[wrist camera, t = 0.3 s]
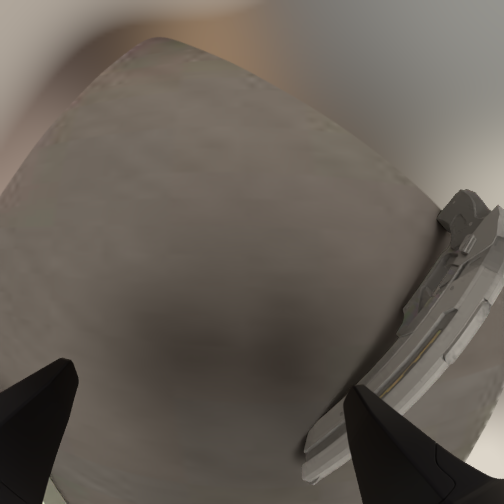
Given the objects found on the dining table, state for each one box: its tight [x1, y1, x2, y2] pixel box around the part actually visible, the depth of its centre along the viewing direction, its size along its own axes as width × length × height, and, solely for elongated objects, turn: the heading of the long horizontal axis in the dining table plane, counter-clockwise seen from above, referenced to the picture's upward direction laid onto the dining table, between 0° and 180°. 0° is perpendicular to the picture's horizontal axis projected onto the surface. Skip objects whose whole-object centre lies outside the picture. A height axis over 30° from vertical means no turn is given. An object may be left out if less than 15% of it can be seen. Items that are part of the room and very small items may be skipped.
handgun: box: [302, 189, 504, 485], centre depth 22 cm, size 31×3×15 cm, turn 143°
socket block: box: [43, 477, 67, 504], centre depth 13 cm, size 20×10×4 cm, turn 106°
